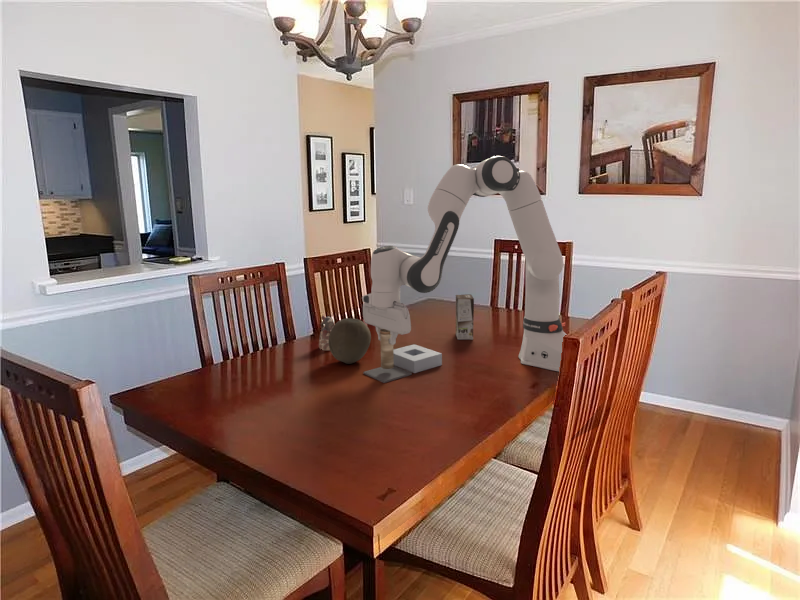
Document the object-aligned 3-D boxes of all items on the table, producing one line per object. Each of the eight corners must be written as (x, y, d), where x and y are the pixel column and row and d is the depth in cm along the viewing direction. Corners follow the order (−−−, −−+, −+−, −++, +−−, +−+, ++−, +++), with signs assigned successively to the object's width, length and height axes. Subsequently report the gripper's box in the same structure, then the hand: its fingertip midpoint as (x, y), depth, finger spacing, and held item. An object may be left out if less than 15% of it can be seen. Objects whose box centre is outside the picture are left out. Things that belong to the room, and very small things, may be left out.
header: (441, 364, 178) (441, 353, 177) (414, 373, 171) (414, 361, 170) (414, 355, 189) (414, 344, 188) (387, 362, 181) (387, 351, 181)
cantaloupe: (365, 369, 175) (363, 325, 171) (324, 367, 177) (321, 323, 174) (375, 356, 188) (374, 314, 185) (337, 354, 191) (335, 313, 188)
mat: (411, 374, 169) (411, 372, 169) (384, 383, 163) (384, 381, 163) (390, 366, 178) (390, 364, 178) (363, 373, 171) (363, 371, 171)
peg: (396, 367, 169) (395, 330, 167) (386, 370, 167) (385, 332, 164) (388, 363, 173) (387, 327, 170) (378, 366, 170) (377, 330, 167)
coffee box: (473, 339, 206) (474, 298, 203) (457, 339, 207) (457, 298, 203) (471, 333, 215) (471, 293, 212) (455, 333, 215) (455, 294, 212)
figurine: (329, 351, 194) (327, 319, 192) (315, 348, 198) (313, 317, 196) (342, 346, 200) (341, 315, 197) (328, 343, 204) (327, 313, 201)
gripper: (415, 302, 159) (416, 347, 162) (374, 293, 175) (376, 333, 178) (399, 306, 155) (399, 351, 158) (358, 295, 171) (360, 337, 174)
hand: (386, 342), depth 168 cm, fingers closed on peg, 4 cm apart
